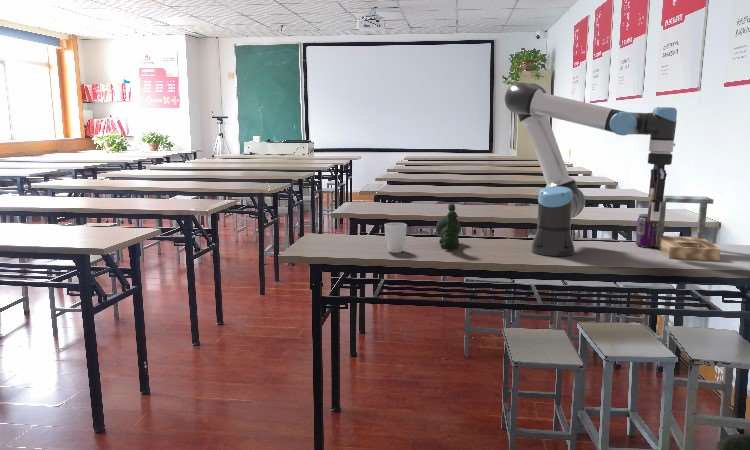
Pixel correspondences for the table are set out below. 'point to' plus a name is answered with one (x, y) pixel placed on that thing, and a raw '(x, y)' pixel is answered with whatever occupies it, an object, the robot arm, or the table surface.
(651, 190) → the peg
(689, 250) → the socket station
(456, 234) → the toy figurine
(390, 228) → the cup
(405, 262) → the table surface
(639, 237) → the beverage can
